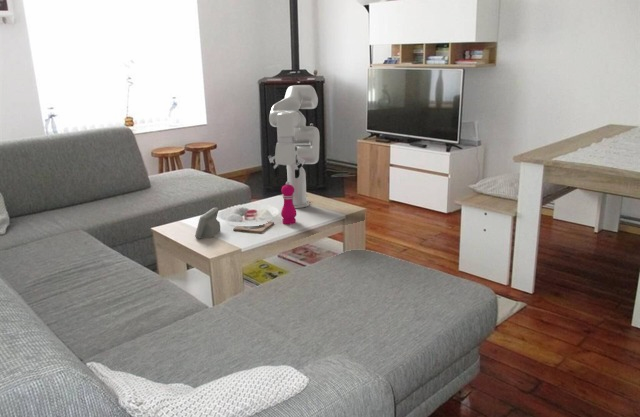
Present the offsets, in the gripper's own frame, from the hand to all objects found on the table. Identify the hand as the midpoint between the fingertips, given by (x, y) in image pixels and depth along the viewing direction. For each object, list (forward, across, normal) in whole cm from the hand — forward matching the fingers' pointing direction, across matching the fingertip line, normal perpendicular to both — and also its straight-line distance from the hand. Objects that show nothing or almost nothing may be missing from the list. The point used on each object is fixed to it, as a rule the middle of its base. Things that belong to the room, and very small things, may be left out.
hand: (287, 177), depth 247 cm
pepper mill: (+22, 0, -1) cm, 22 cm away
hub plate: (+22, +13, +10) cm, 28 cm away
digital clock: (+23, +29, +24) cm, 44 cm away
